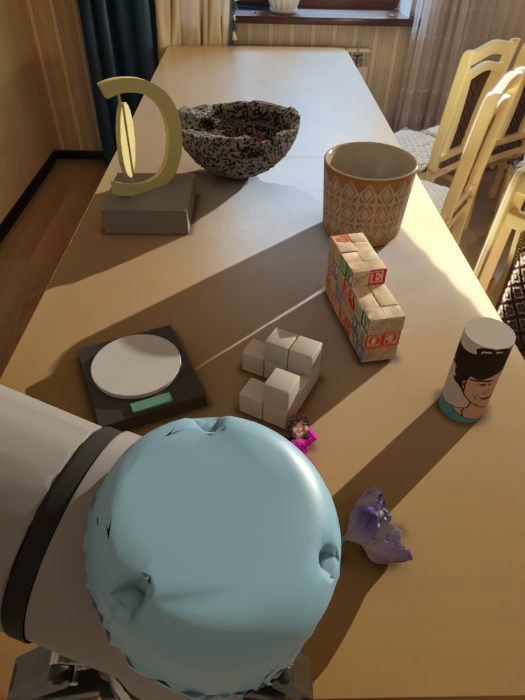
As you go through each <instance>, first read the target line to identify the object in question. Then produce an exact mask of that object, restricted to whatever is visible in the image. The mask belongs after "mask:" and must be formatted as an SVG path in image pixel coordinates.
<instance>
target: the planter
mask: <svg viewBox="0 0 525 700" xmlns="http://www.w3.org/2000/svg"><path fill="white" fill-rule="evenodd" d="M418 168H419V162H418V159H417V158H416V157H415V155H413V154H412V153H411V152H409V151H408V150H406V149H403V148H401V147H398V146H395V145H392V144H388V143H385V142H384V143H383V142H377V141H351V142H344V143H340V144H338V145H335V146H333V147H330V148H329V149H328V150H327V151H326V152H325V154H324V156H323V191H322V193H323V194H322V195H323V196H322V201H323V202H322V226H323V228H324V231H325V232H326V233H327V234H328V236H329V237H330V236H335V235H343V234H346V235H347V234H353V233H363V234H364V235H365V237H366V238H367V240H368V242H369V243H370V245H371V246H372V248H375V247H380V246H384V245H387V244H389V243H390V242H391V241H393V240H394V239H395V238H396V237H397V236H398V234H399V233H400V230H401V227H402V223H403V221H404V217H405V213H406V210H407V206H408V202H409V199H410V196H411V194H412V193H411V192H412V189H413V186H414V182H415V179H416V175H417V171H418Z"/></svg>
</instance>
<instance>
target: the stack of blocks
mask: <svg viewBox="0 0 525 700" xmlns="http://www.w3.org/2000/svg"><path fill="white" fill-rule="evenodd" d="M387 271H388V267H387V266H386V264H385V263H384V261H383V260H382V259H381V258H380V257H379V255H378V254H377V252H376V251H375V249H374V247H372V246H371V245H370V243H369V242H368V240H367V238H366V237H365V235H364V234H363V233H353V234H347V235H346V234H343V235H335V236H330V235H329V245H328V255H327V270H326V278H325V293H326V295H327V297H328V299H329V302H330V303H331V306H332V308H333V310H334V313H335V314H336V317H337V318H338V319H339V321H340V323H341V325H342V327H343V329H344V330H345V333H346V335H347V336H348V338H349V341H350V343H351V346H352V347H353V350H354V351H355V354H356V355H357V357H358V360H359V361H360V363H369V362H374V361H384V360H391V359H395V358H396V355H397V351H398V345H399V344H400V340H401V336H402V335H401V334H402V331H403V329H404V325H405V321H406V316H407V315H406V313H405V312H404V310H403V309H402V308H401V306H400V304H399V303H398V302H397V300H396V298H395V297H394V295H393V294H392V292H391V291H390V289H389V288H388V286H387V285H386V284H385V282H386V278H387Z"/></svg>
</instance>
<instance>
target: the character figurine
mask: <svg viewBox="0 0 525 700" xmlns="http://www.w3.org/2000/svg"><path fill="white" fill-rule="evenodd" d="M283 437H284V438H286V439H287V440H288V441H290V442H291V443H292V444H294V445H295V446H296V447H297V448H298V449H299V450H300V451H301V452H302V453H303V454H304V455H305V456H306V457H307V458H308V455H307V454H308V452H309V447H310V446H311V445H312V444H313V443H314V442H316V441H317V440H318V438H319V436H318V435H317V434H316V433H315V432H314V431H313V429H312V428H311V427H310V420H309V416H308V415H307V414H306V413H303V412H300V413H299V412H297V413H296V414H293V415H292V416H290V421H289V424H288V426H287V429H286V435H285V434H284V436H283Z"/></svg>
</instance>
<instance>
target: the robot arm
mask: <svg viewBox="0 0 525 700" xmlns="http://www.w3.org/2000/svg"><path fill="white" fill-rule="evenodd" d="M306 456H307V455H306ZM306 456H305V455H304V454H303V453H302V452H301V451H300V450H299V449H298V448H297V447H296V446H295V445H294V444H292V443H291V442H290V441H288V440H287V439H286V438H284V436H283V435H281V434H280V433H278V432H277V431H275V430H273V429H271V428H270V427H267V426H266V425H263V424H261V423H258V422H256V421H253V420H249V419H245V418H242V417H237V416H234V415H233V416H232V415H226V416H225V415H224V416H213V417H197V418H188V417H184V418H180V419H177V420H173V421H170V422H167V423H165V424H163V425H160V426H158V427H155V428H154V429H152V430H150V431H149V432H147V433H145V434H144V435H143V436H142V435H139V434H137V433H134V432H132V431H129V430H126V431H123V432H122V431H119V430H117V429H114V428H112V427H107V426H105V427H101V426H99V424H98V423H95V422H92V421H89V420H87V419H85V418H82V417H80V416H77V415H76V414H73V413H70V412H68V411H66V410H64V409H61V408H59V407H56V406H54V405H52V404H50V403H47V402H44V401H41V400H40V399H37V398H35V397H32V396H30V395H28V394H26V393H23V392H21V391H19V390H16V389H13V388H10V387H8V386H6V385H4V384H2V383H0V632H1V633H3V634H5V635H6V636H8V638H11V639H14V640H16V641H18V642H21V643H23V644H25V645H30V644H33V645H34V644H35V645H37V646H36V647H35V648H33V649H31V650H29V651H26V652H24V653H22V654H21V655H18V656H16V657H15V660H14V665H13V668H12V672H11V677H10V681H9V684H8V685H9V686H8V690H7V693H6V694H7V695H6V699H5V700H34V699H36V700H79V699H85V698H92V697H98V696H99V697H100V699H101V700H287V696H288V697H290V698H292V699H293V700H315V699H314V683H313V671H312V669H313V668H312V659H311V658H310V657H308V656H307V655H306V653H304V652H303V651H301V650H302V649H303V647H304V646H305V644H306V643H307V642H308V640H309V639H310V638H311V637H312V636H313V634H314V632H315V629H316V627H317V625H318V624H319V622H320V621H321V619H322V618H323V616H324V614H325V613H326V611H327V609H328V607H329V604H330V603H331V600H332V598H333V595H334V591H335V588H336V587H337V583H338V580H339V579H340V577H341V573H340V572H341V571H340V569H341V557H342V550H341V536H342V534H341V527H340V521H339V516H338V512H337V508H336V506H335V503H334V500H333V497H332V494H331V492H330V491H329V489H328V487H327V485H326V483H325V481H324V479H323V478H322V476H321V474H320V472H319V471H318V470H317V468H316V467H315V465H314V464H313V463H312V461H311V460H310V459H309V458H308V456H307V457H306Z"/></svg>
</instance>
